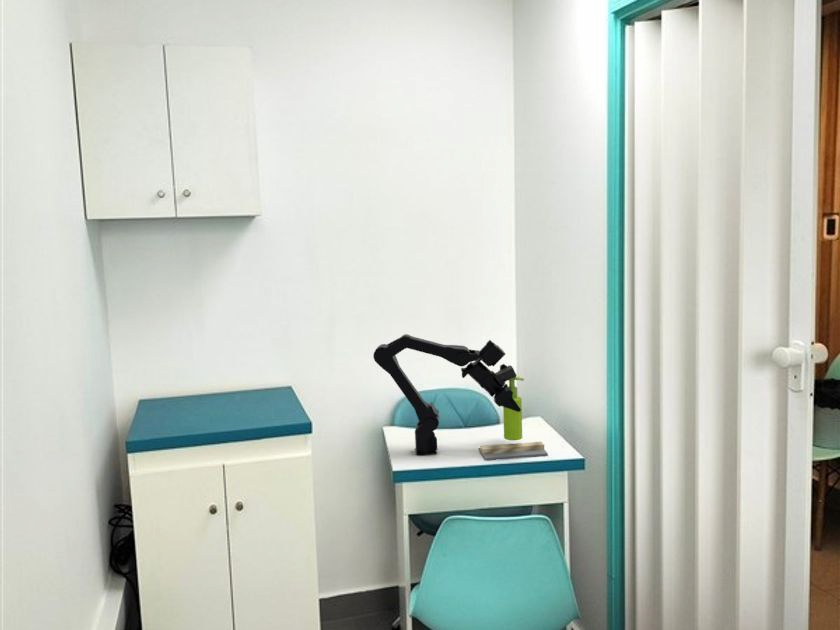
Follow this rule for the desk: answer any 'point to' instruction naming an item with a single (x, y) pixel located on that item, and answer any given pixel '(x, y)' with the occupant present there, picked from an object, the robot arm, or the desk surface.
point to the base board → (514, 455)
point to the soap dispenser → (513, 415)
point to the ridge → (512, 448)
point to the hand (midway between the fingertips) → (518, 408)
